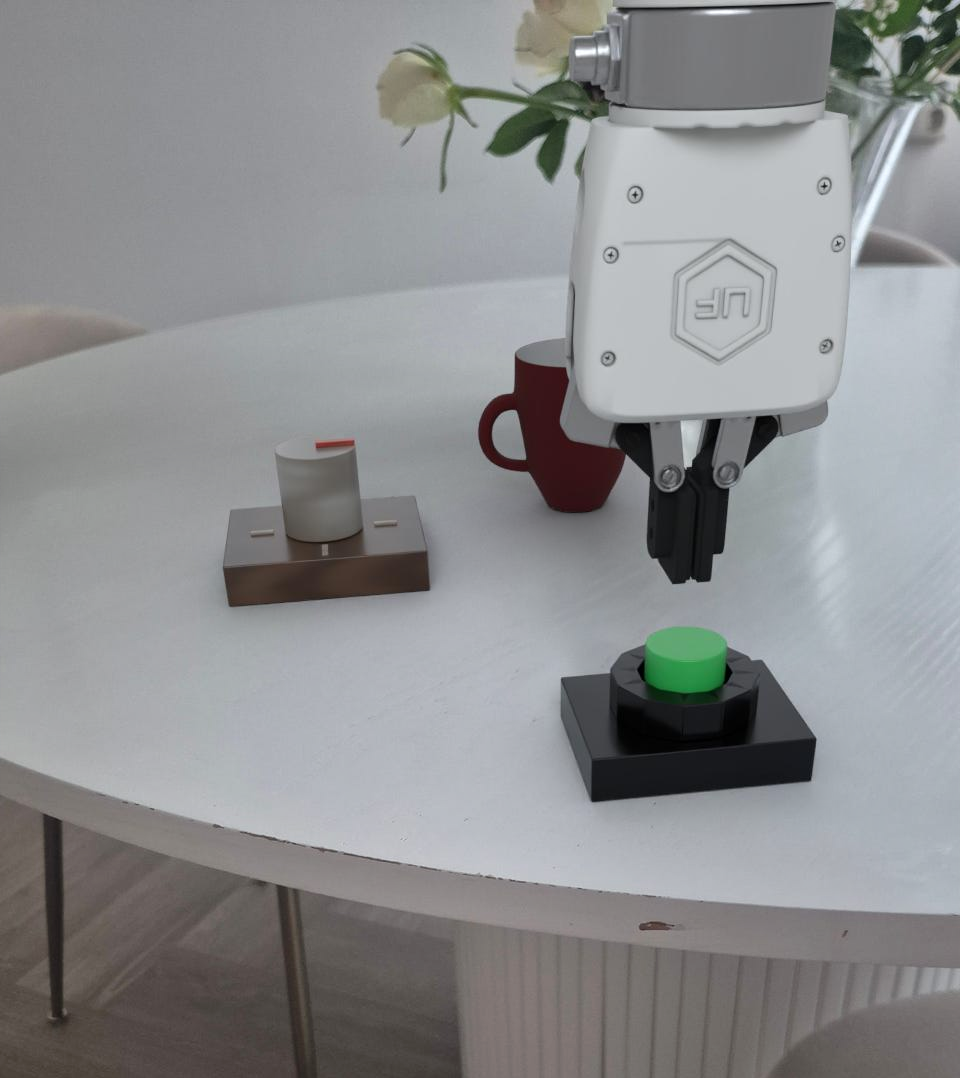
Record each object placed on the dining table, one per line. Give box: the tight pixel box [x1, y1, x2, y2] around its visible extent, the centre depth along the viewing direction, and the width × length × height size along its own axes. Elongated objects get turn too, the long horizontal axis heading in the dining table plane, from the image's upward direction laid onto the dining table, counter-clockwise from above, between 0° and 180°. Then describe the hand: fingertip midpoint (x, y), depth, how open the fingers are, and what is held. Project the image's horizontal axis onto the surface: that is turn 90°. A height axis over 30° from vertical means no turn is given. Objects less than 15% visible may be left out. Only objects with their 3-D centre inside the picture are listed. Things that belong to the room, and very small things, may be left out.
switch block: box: [560, 644, 818, 803], centre depth 58 cm, size 10×8×4 cm
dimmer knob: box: [274, 434, 363, 542], centre depth 76 cm, size 5×5×5 cm
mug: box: [477, 337, 627, 513], centre depth 84 cm, size 10×8×10 cm
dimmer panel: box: [222, 495, 431, 607], centre depth 78 cm, size 12×10×3 cm
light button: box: [644, 626, 728, 693], centre depth 57 cm, size 4×4×2 cm
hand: (683, 570), depth 54 cm, fingers closed
